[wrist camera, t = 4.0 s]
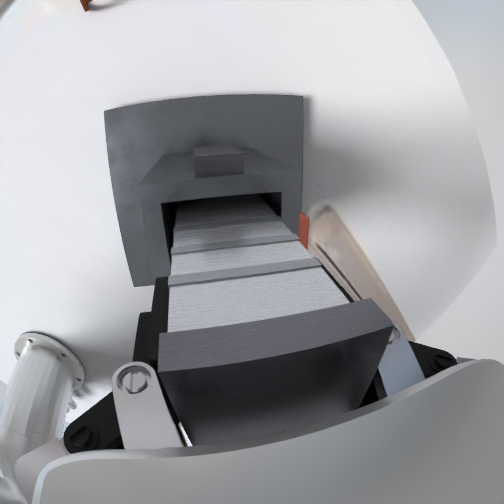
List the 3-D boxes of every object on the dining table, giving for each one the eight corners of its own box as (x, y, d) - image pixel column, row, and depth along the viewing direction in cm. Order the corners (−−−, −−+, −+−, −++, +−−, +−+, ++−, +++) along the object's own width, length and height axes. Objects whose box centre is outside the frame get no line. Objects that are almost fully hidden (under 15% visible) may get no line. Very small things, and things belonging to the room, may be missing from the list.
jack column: (237, 225, 26) (339, 444, 8) (187, 230, 25) (206, 473, 7) (235, 161, 23) (396, 324, 5) (180, 166, 23) (154, 371, 4)
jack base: (293, 260, 32) (348, 340, 20) (136, 279, 29) (116, 375, 17) (297, 97, 24) (382, 88, 12) (108, 111, 21) (38, 108, 9)
